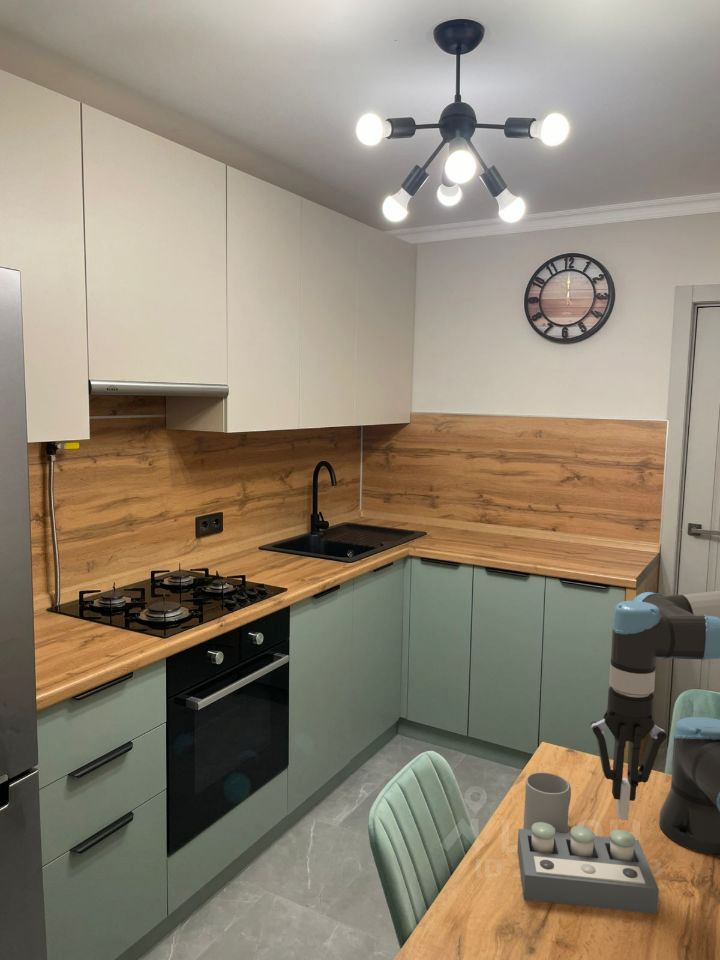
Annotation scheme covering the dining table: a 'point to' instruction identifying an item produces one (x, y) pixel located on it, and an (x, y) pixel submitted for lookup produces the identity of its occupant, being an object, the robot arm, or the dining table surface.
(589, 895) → the button board
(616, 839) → the button
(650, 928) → the dining table surface
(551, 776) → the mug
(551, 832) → the button
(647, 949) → the dining table surface
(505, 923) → the dining table surface
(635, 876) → the card
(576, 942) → the dining table surface
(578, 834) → the button mid
